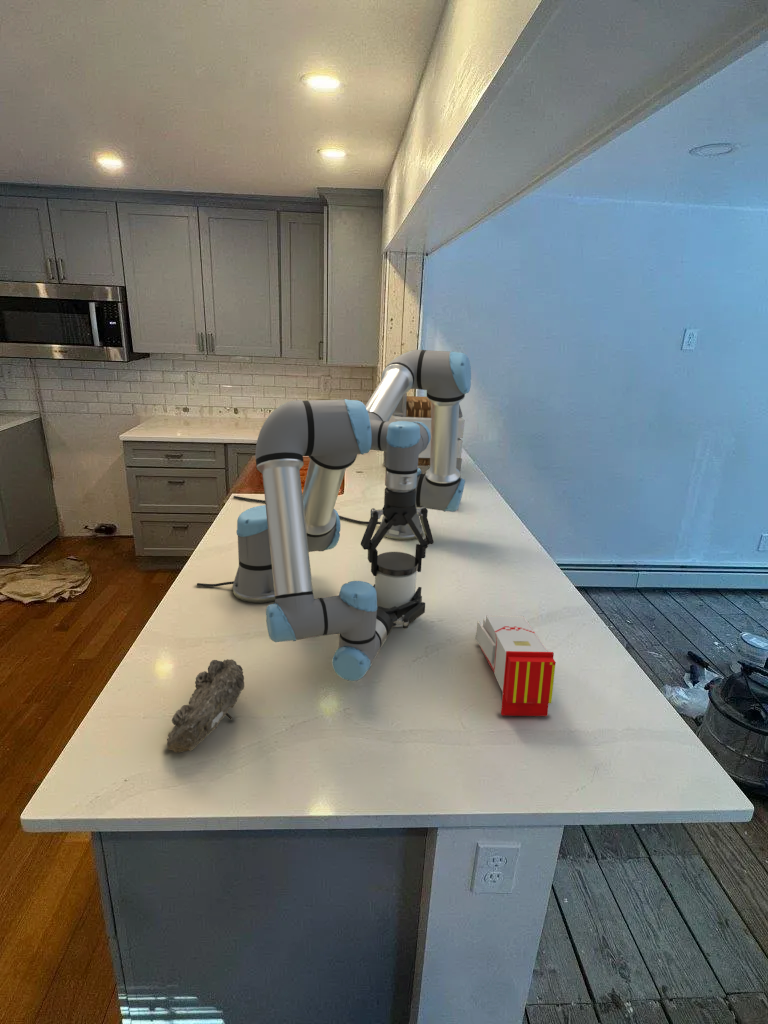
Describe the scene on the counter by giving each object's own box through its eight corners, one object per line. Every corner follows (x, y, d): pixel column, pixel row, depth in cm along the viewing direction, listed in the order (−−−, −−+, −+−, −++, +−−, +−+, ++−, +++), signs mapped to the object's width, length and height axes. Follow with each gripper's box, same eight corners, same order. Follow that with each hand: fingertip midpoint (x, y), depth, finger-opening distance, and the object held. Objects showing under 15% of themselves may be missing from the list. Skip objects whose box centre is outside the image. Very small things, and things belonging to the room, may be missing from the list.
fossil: (192, 660, 117) (244, 628, 112) (224, 691, 120) (276, 661, 115) (142, 746, 98) (202, 712, 93) (182, 779, 101) (242, 748, 96)
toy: (522, 601, 137) (564, 658, 107) (517, 652, 139) (557, 722, 110) (472, 600, 136) (500, 657, 107) (468, 651, 139) (495, 721, 110)
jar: (397, 602, 153) (400, 551, 148) (421, 619, 145) (425, 566, 140) (365, 613, 147) (367, 560, 142) (389, 631, 140) (392, 576, 134)
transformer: (382, 463, 289) (386, 382, 275) (445, 464, 293) (451, 384, 279) (390, 482, 257) (394, 392, 243) (460, 483, 261) (468, 394, 247)
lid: (427, 570, 140) (427, 564, 140) (390, 580, 134) (390, 573, 134) (401, 554, 149) (401, 548, 148) (365, 562, 143) (366, 556, 142)
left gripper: (325, 634, 132) (357, 592, 152) (419, 655, 126) (441, 608, 146) (325, 606, 130) (358, 567, 150) (422, 625, 124) (443, 582, 144)
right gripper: (356, 495, 128) (354, 582, 135) (452, 490, 134) (444, 574, 142) (349, 485, 135) (347, 569, 142) (440, 481, 141) (434, 561, 149)
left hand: (399, 587), depth 148 cm, fingers closed on jar, 10 cm apart
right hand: (395, 571), depth 142 cm, fingers closed on lid, 11 cm apart
